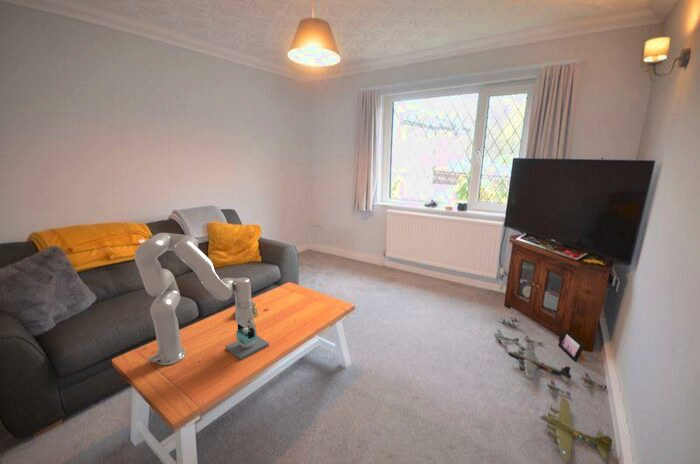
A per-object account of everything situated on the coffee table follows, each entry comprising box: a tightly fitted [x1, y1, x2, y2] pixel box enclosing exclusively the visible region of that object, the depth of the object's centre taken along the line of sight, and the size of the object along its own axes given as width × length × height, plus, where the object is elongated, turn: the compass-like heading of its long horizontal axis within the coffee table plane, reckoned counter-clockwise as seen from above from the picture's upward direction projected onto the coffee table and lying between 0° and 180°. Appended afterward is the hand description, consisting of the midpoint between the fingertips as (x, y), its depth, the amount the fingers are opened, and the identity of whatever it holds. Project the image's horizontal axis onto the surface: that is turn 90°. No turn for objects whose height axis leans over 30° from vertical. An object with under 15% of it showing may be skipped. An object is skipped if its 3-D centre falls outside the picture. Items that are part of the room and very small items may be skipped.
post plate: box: [225, 328, 270, 361], centre depth 159 cm, size 16×14×10 cm
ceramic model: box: [233, 300, 259, 318], centre depth 193 cm, size 14×11×10 cm
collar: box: [235, 326, 258, 345], centre depth 159 cm, size 7×7×5 cm
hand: (246, 334), depth 158 cm, fingers open, 9 cm apart
